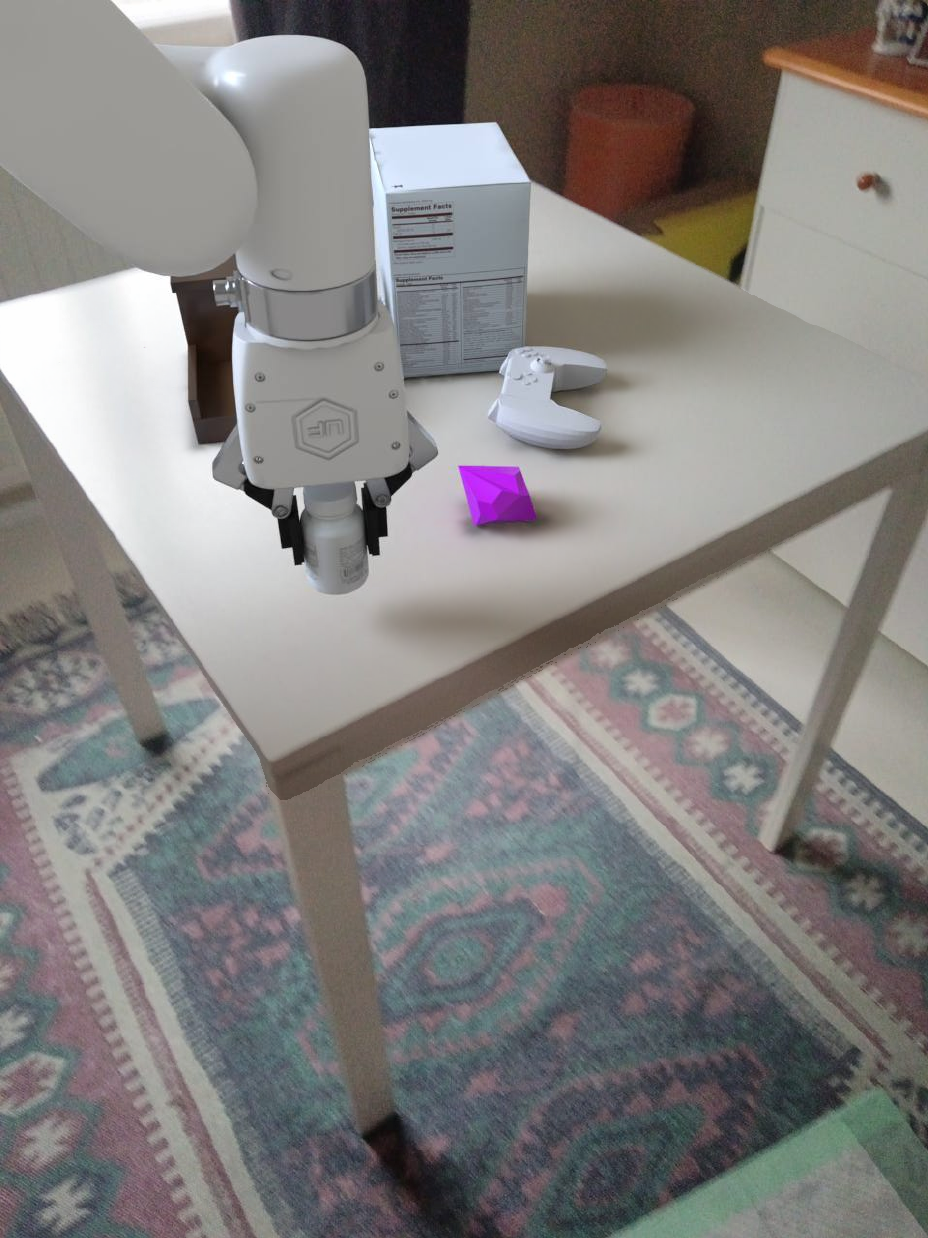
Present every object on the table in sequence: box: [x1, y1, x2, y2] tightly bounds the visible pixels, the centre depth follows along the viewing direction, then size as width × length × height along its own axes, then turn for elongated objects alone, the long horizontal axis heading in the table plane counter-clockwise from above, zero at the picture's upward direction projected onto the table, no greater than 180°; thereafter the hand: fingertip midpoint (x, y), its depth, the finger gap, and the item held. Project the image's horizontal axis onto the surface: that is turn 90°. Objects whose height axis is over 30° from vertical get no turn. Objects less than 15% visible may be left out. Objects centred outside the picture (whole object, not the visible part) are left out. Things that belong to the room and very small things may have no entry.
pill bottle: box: [299, 481, 370, 596], centre depth 66 cm, size 4×4×8 cm
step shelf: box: [169, 253, 239, 445], centre depth 91 cm, size 14×16×11 cm
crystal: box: [457, 465, 539, 527], centre depth 79 cm, size 5×5×5 cm
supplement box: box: [369, 121, 532, 379], centre depth 96 cm, size 17×13×18 cm
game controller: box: [486, 345, 608, 450], centre depth 90 cm, size 14×4×10 cm
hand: (335, 545), depth 67 cm, fingers closed on pill bottle, 4 cm apart
